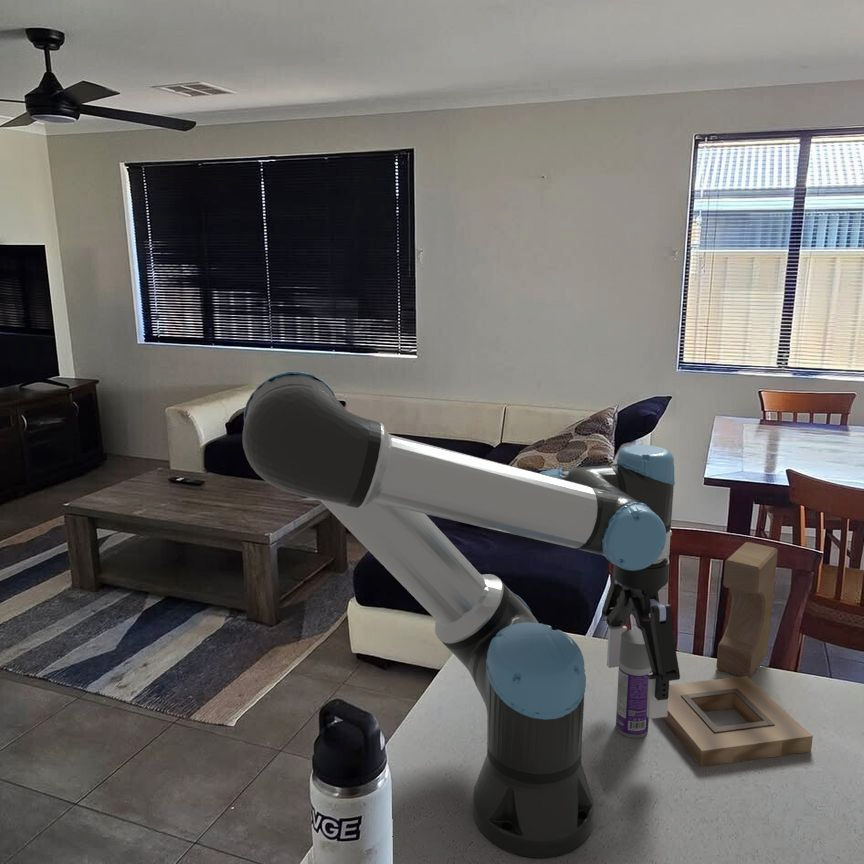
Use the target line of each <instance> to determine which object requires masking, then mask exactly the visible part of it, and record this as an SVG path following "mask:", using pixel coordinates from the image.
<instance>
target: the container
mask: <svg viewBox="0 0 864 864" xmlns="http://www.w3.org/2000/svg"><path fill="white" fill-rule="evenodd" d="M651 673H652V670H651V666H650V662H649V658H648V654H647V651H646V647H645V643H644V639H643V635H642V631H641V629H627V631H624V632H623V633H622V634H621V645H620V657H619V667H618V674H617V675H618V676H617V693H616V694H617V695H616V714H615V715H616V717H615V728H616V730H617V732H618V733H619V734H621V735H623V736H625V737H628V738H633V739H637V738H643V737H645V736H646V735H647V734H648V732H649V720H650V719H649V718H648V717H647V698H648V679H649V678H648V675H649V674H651Z"/></svg>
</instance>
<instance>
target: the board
mask: <svg viewBox="0 0 864 864" xmlns="http://www.w3.org/2000/svg"><path fill="white" fill-rule="evenodd" d="M727 709H728V710H730V709H734V710H735V711H736V712H737V713H738V714H739V715H740V716H741V717H742V718H743V719H744V720H745V722H746V723H739V724H731V725H730V724H729V725H723V726H717V725H716V724H715V723H714V722H713V721H712V720H711V718H709V717H708V716H707V715H706V714H705V712H712V711H714V712H715V711H721V710H727ZM660 719H661V720H662V722H664V723H665V725H666V726H667V728H669V730H670V731H671V733H672V734H674V736H675V737H676V739H678V740H679V742H680V743H681V744H682V746H683V747H684V749H686V750H687V752H688V753H689V755H690V756H691V757H692V758H693V759H694V760H695V763H697V764H698V766H700V767H703V768H704V767H708V766H709V767H710V766H716V765H724V764H730V763H731V764H733V763H737V762H746V761H752V760H759V759H767V758H774V757H781V756H787V755H788V756H789V755H796V754H801V753H809V752H812V745H813V736H814V735H812V734H811V733H810V732H809V731H808V730H807V729H806V728H805V727H803V726H802V725H801V724H800V723H799V722H798V721H797V720H796V719H795V718H794V717H792V715H790V714H789V713H788V712H787V711H786V710H785V709H784V708H783V707H781V706H780V705H779V704H778V703H777V702H776V701H775V700H774V699H773V698H772V697H771V696H770V695H768V694H767V692H765V691H764V690H763V689H762V688H761V687H759V686H758V685H757V684H756V683H755V682H754V681H753V680H752V679H751V677H750V678H748V677H747V676H742V677H739V676H736V677H727V678H725V677H724V678H717V679H709V680H702V681H700V680H699V681H692V682H691V681H690V682H682V683H676V684H675V683H674V684H669V696H668V711H667V717H661V718H660Z"/></svg>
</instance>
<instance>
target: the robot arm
mask: <svg viewBox="0 0 864 864" xmlns="http://www.w3.org/2000/svg"><path fill="white" fill-rule="evenodd" d="M244 407H245V408H244V412H243V430H242V448H243V451H244V455H245V457H246V460H247V461H248V463H249V465H250V467H251V468H252V469H253V471H254V472H255V473H256V474H257V475H258V476H259V477H260V478H261V479H263V480H264V481H265V482H266V483H268V484H270V485H272V487H275V488H277V489H278V490H279V489H280V490H282V491H285V492H287V493H291V494H294V495H297V496H298V497H299V498H300V499H301V500H303V501H320V502H321V503H322V504H323V505H324V506H325V507H326V509H328V510H329V512H330V513H332V515H333V516H335V517H336V518H337V520H339V522H340V523H341V524H342V525H343V526H345V528H346V529H347V530H348V531H349V532H350V533H351V534H352V535H353V536H354V537H355V539H357V540H358V541H359V543H361V544H362V545H363V546H364V547H365V549H367V550H368V552H369V553H370V554H371V555H373V557H374V558H375V559H376V560H377V561H378V562H379V563H380V564H381V565H382V566H384V568H385V569H386V570H387V571H388V572H389V573H390V574H391V575H392V576H393V577H394V579H396V580H397V581H398V582H399V583H400V585H402V587H404V589H405V590H407V592H408V593H409V594H411V596H412V597H414V599H415V600H416V601H417V602H418V603H419V605H421V606H422V607H423V608H424V609H425V610H426V611H427V612H428V613H429V614H430V615H431V616H432V617H433V618H434V620H435V622H434V632H435V636H436V638H437V639H438V640H440V642H441V643H442V644H443V645H444V646H445V647H446V648H447V649H448V650H449V651H450V652H451V653H452V654H453V655H454V656H455V657H456V658H457V660H459V661H460V663H461V664H463V666H464V667H465V668H466V670H468V672H469V674H470V675H471V677H472V679H473V681H474V684H475V686H476V688H477V690H478V692H479V695H480V697H481V699H482V701H483V702H484V705H485V707H486V708H485V709H486V715H487V718H486V723H487V725H486V732H487V733H486V745H487V746H486V747H487V748H486V756H485V759H484V762H483V763H482V766H481V768H480V771H479V774H478V777H477V779H476V782H475V785H474V787H473V793H472V815H473V818H474V822H475V824H476V827H477V828H478V830H479V831H480V833H482V834H483V836H484V837H485V838H486V839H487V840H488V841H490V842H491V843H492V844H493V845H495V846H497V847H499V848H500V849H502V850H505V851H506V852H508V853H512V854H514V855H517V856H523V857H529V858H536V859H537V858H538V859H539V858H540V859H542V858H552V857H556V856H561V855H565V854H568V853H570V852H572V851H574V850H576V849H577V848H578V847H579V846H581V845H582V844H584V842H585V841H586V840H587V838H589V836H590V835H591V834H590V833H591V832H592V829H593V827H594V826H593V825H594V810H595V809H594V808H595V806H594V804H595V803H594V798H593V795H592V791H591V788H590V786H589V783H588V779H587V776H586V773H585V770H584V767H583V763H582V750H583V730H584V727H583V725H584V711H585V707H584V706H585V693H586V686H587V675H586V673H585V672H586V670H585V659H584V656H583V653H582V650H581V649H580V647H579V645H578V643H576V641H575V640H574V639H573V638H572V637H571V636H570V635H568V634H567V633H565V631H563V630H561V629H553V628H552V626H551V625H548V624H544V623H539V621H538V620H537V618H536V617H535V616H534V615H533V613H532V610H531V608H530V607H529V605H527V603H526V602H525V600H523V599H522V598H521V597H520V596H519V595H517V594H516V593H514V591H511V589H510V588H508V586H507V585H506V584H505V583H504V582H503V581H502V580H501V578H499V577H498V576H497V575H495V574H491V573H488V574H487V573H485V574H484V573H483V574H481V573H480V572H479V571H478V570H477V569H476V568H475V567H474V566H473V565H472V563H471V562H470V561H469V560H468V559H467V558H466V557H465V556H464V554H462V553H461V551H460V550H459V549H458V548H457V547H456V546H455V545H454V544H453V542H451V540H450V539H449V538H448V537H447V536H446V535H445V534H444V533H443V532H442V531H441V530H440V528H438V526H437V525H436V524H435V522H434V521H432V519H430V517H428V516H433V517H437V518H440V519H446V520H449V521H455V522H459V523H464V524H467V525H468V524H469V525H472V526H476V527H480V528H485V529H489V530H493V531H499V532H502V533H507V534H511V535H516V536H520V537H525V538H528V539H534V540H537V541H541V542H546V543H550V544H555V545H559V546H563V547H567V548H572V549H576V550H579V551H584V552H587V553H592V554H596V555H601V556H604V557H605V558H606V560H607V561H608V562H609V563H611V564H612V565H613V569H612V571H611V581H610V584H609V585H610V586H609V587H608V590H607V593H606V597H605V600H604V602H603V605H602V607H601V608H602V609H601V614H602V616H603V617H606V624H607V626H608V628H607V629H608V630H607V631H608V632H607V653H606V654H607V656H606V657H607V659H606V666H607V667H608V668H609V669H611V668H619V657H620V645H621V634H622V633H623V632H624V631H627V630H628V627H627V626H626V625H625V624H629V622H628V619H629V618H630V617H631V615H632V617H633V618H634V621H635V623H636V627H637V629H638V630H641V631H642V635H643V639H644V643H645V647H646V651H647V654H648V658H649V662H650V666H651V670H652V673H651V674H649V675H648V678H649V679H648V698H647V717H648V718H649V720H652V719H659V718H660V719H662V718H661V717H667V711H668V696H669V685H670V681H671V682H672V681H677V680H680V678H681V674H680V667H679V662H678V655H677V649H676V648H677V647H676V643H675V638H674V637H675V636H674V632H673V631H674V630H673V626H672V625H673V624H672V608H671V605H670V604H662V603H660V598H659V597H660V596H659V591H660V590H661V589H662V588H663V587H665V586H666V585H667V584H668V582H669V573H670V571H669V570H670V560H669V555H670V545H671V537H672V535H673V532H672V530H671V529H672V517H673V501H674V489H675V488H674V487H675V485H676V484H675V483H676V482H675V462H674V461H675V460H674V456H673V454H672V453H671V452H670V451H669V450H667V449H666V448H664V447H661V446H656V445H651V444H649V445H648V444H632V445H629V446H624V447H622V448H620V449H619V451H618V454H617V459H616V463H612V464H608V465H607V464H606V465H598V466H597V465H595V466H594V465H593V466H581V467H580V466H579V467H578V466H577V467H566V468H564V467H559V468H555V469H554V468H553V469H548V470H543V471H540V472H539V473H538V472H534V471H532V470H527V469H523V468H520V467H517V466H513V465H512V466H511V465H508V464H505V463H500V462H497V461H493V460H489V459H484V458H481V457H477V456H473V455H470V454H466V453H462V452H458V451H454V450H451V449H446V448H443V447H439V446H435V445H430V444H428V443H424V442H419V441H416V440H412V439H409V438H404V437H402V436H401V437H399V436H396V435H393V434H390V433H388V430H387V429H386V427H385V425H384V424H383V423H382V422H379V421H376V420H372V419H369V418H364V417H361V416H360V415H357V414H355V413H352V412H350V411H349V410H348V409H346V408H345V407H344V406H343V404H342V403H341V402H340V401H339V400H338V399H337V397H336V396H335V392H334V391H333V389H332V388H331V387H330V386H329V384H328V383H326V382H325V381H324V380H323V379H320V378H319V377H317V376H316V375H313V374H311V373H308V372H303V371H297V370H296V371H295V370H293V371H292V370H291V371H290V370H289V371H284V372H280V373H276V374H275V375H274V374H273V375H271V376H270V377H269V378H267V379H265V380H264V381H262V382H261V383H260V384H259V385H258V386H257V387H256V388H255V390H254V391H252V392H251V394H250V396H249V398H248V400H247V402H246V404H245V406H244Z"/></svg>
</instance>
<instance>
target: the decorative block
mask: <svg viewBox="0 0 864 864" xmlns="http://www.w3.org/2000/svg"><path fill="white" fill-rule="evenodd" d="M778 552H779V551H778V549H777V548H776V547H773V546H768V545H764V544H759V543H754V542H749V541H746V542H744V543H743V544H742V545H741V546H740V547H739V548H738V549H737V550H736V551H734V553H732V554H731V555H730V556H729V557H728V558H727V559H726V560H724V571H723V587H724V588H727V589H730V592H731V605H730V612H729V617H728V621H727V624H726V628H725V630H724V633H723V635H722V638H721V639H720V642H719V643H718V645H717V656H716V669H717V670H718V671H720V672H724V673H728V674H730V675H734V676H736V677H742V676H747V677H748V678H750V679H751V677H752V675H753V674H754V672H755V671H756V670H757V668H758V667H759V666H760V664H761V663H762V661H764V659H765V658H766V656H767V655H768V652H769V651H768V650H769V641H770V634H771V633H770V632H771V625H772V615H773V614H772V612H773V603H774V592H775V583H776V582H775V581H776V573H777V572H776V571H777V563H778V555H779V553H778Z"/></svg>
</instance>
